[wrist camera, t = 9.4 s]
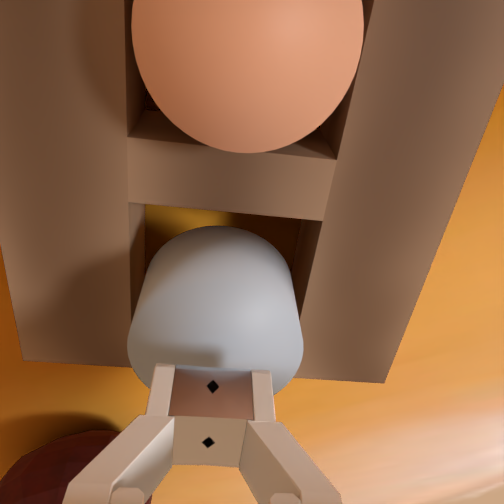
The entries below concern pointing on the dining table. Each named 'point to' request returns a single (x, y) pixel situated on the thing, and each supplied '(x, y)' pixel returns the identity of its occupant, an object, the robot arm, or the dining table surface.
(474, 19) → the wooden tray
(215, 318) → the key slate
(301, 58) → the key terracotta
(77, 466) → the potato
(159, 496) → the dining table surface
